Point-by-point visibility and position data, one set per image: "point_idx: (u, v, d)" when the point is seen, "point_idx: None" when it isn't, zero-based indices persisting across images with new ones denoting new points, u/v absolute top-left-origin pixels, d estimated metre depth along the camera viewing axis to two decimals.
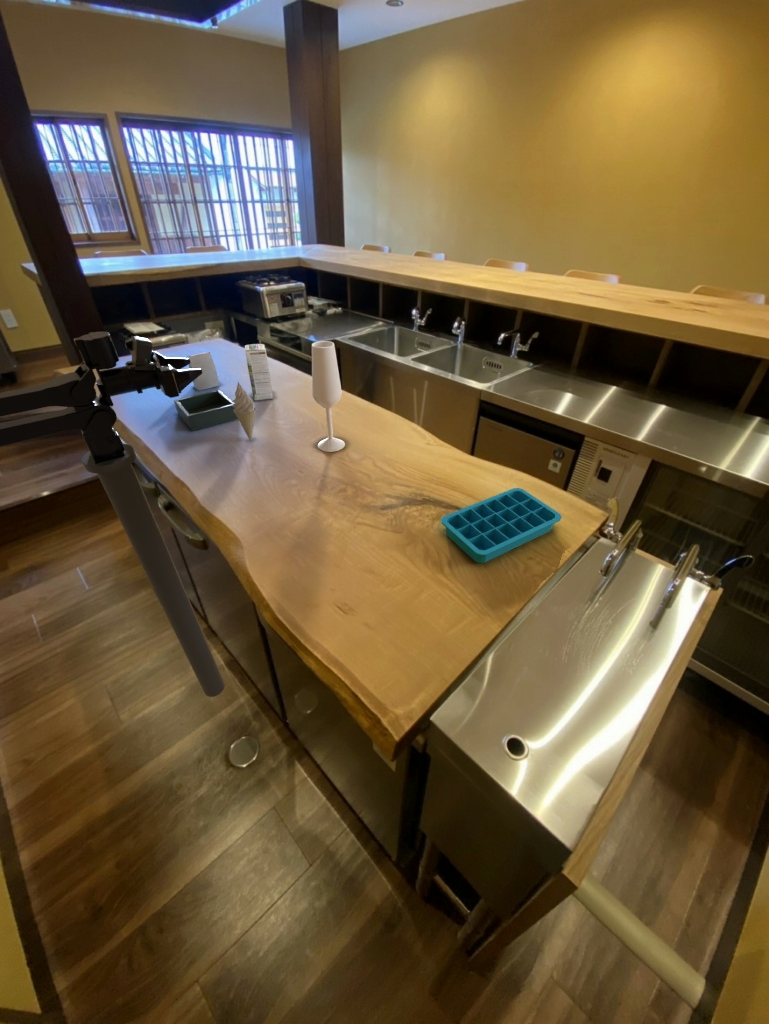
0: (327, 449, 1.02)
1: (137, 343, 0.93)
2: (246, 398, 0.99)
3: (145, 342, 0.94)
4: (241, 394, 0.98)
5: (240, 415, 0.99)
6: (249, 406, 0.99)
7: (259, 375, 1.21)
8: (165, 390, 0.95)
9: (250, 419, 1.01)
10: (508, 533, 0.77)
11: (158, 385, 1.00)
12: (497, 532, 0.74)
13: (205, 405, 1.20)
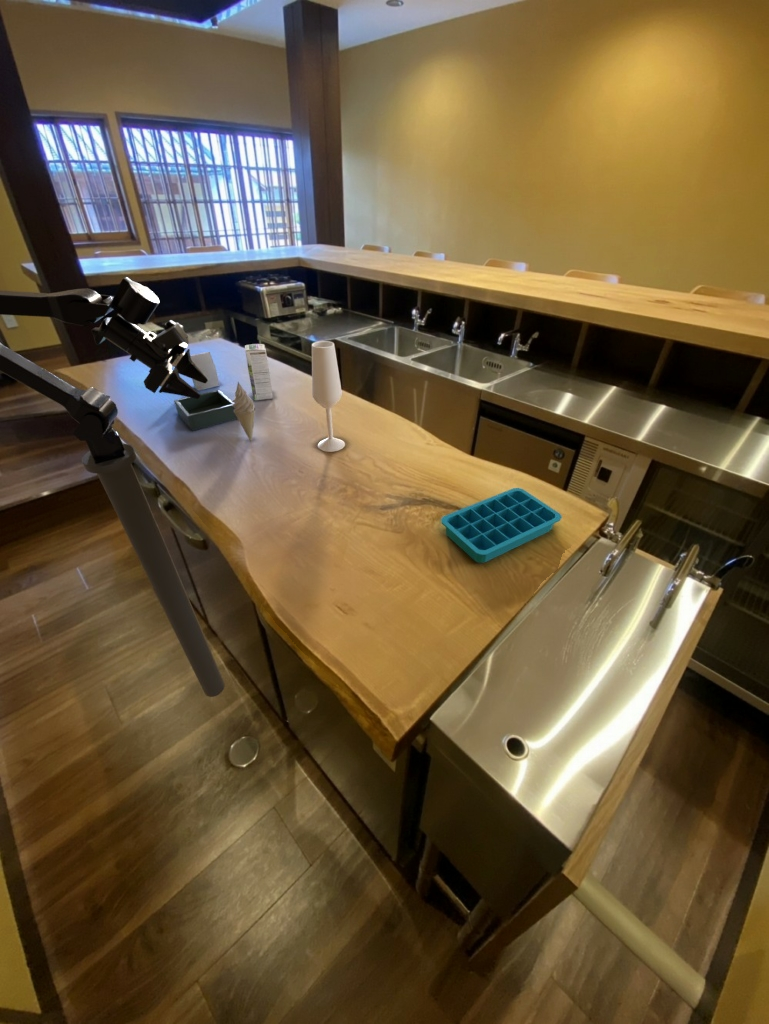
0: (327, 449, 1.02)
1: (171, 330, 0.86)
2: (246, 398, 0.99)
3: (179, 336, 0.87)
4: (241, 394, 0.98)
5: (240, 415, 0.99)
6: (249, 406, 0.99)
7: (259, 375, 1.21)
8: (147, 378, 0.85)
9: (250, 419, 1.01)
10: (508, 533, 0.77)
11: None
12: (497, 532, 0.74)
13: (205, 405, 1.20)
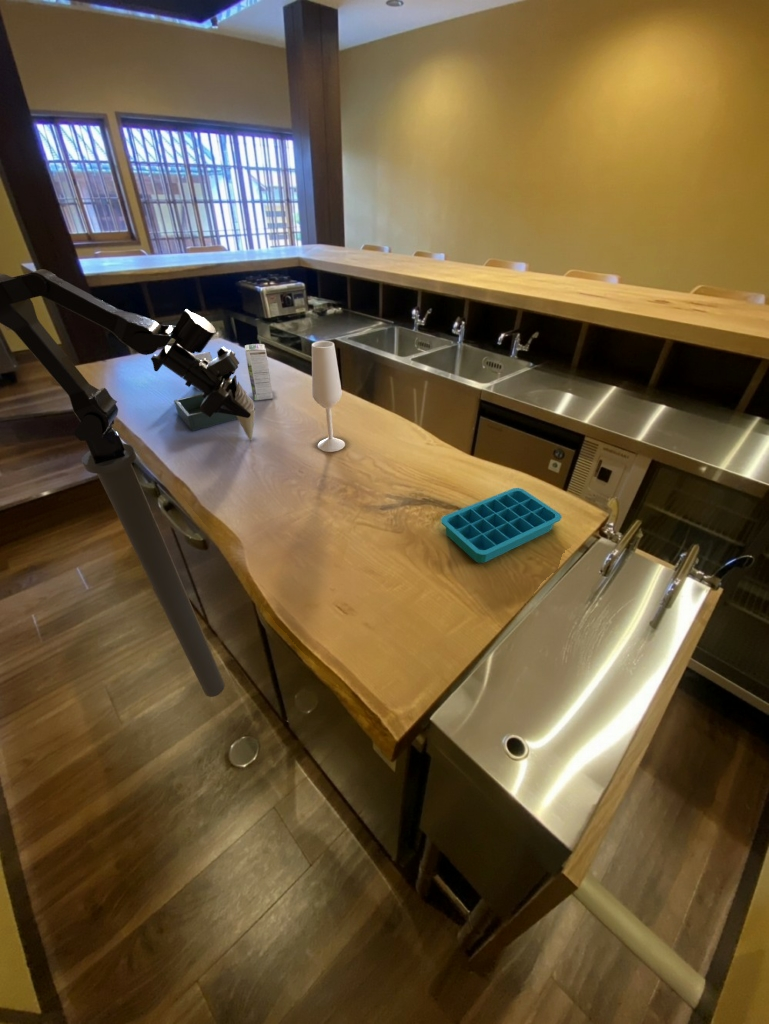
0: (327, 449, 1.02)
1: (226, 358, 0.91)
2: (246, 398, 0.99)
3: (232, 363, 0.92)
4: (241, 394, 0.98)
5: None
6: (249, 406, 0.99)
7: (259, 375, 1.21)
8: (203, 404, 0.90)
9: (250, 419, 1.01)
10: (508, 533, 0.77)
11: (206, 395, 0.95)
12: (497, 532, 0.74)
13: None
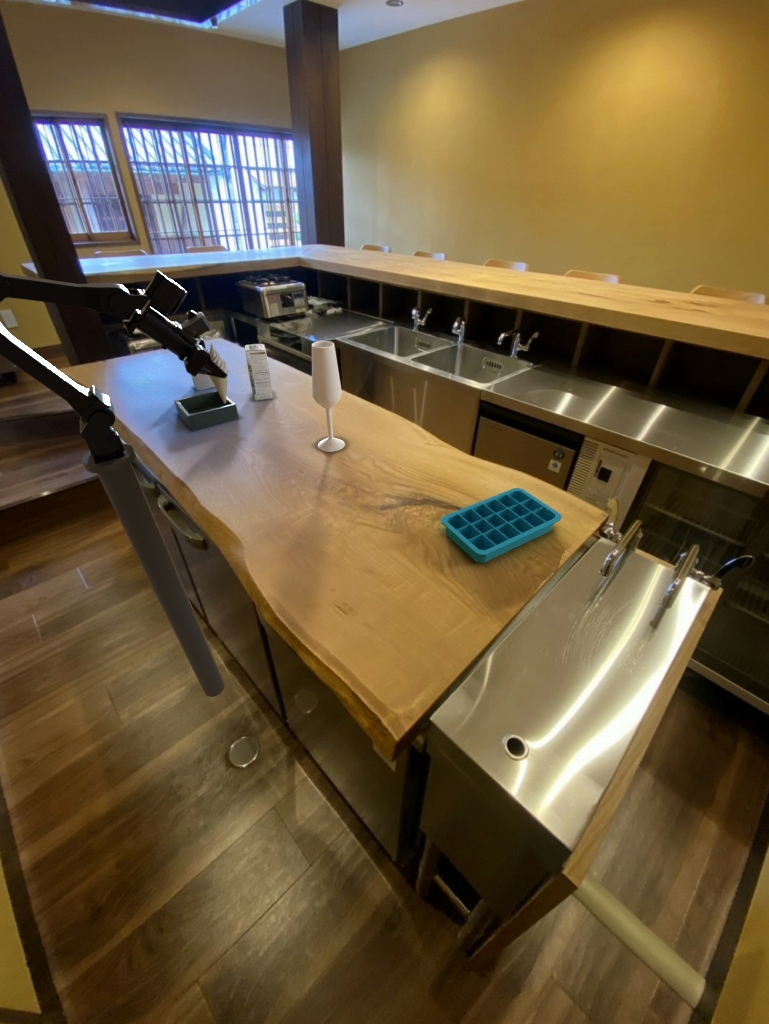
0: (327, 449, 1.02)
1: (201, 318, 0.95)
2: (220, 359, 1.03)
3: (208, 323, 0.96)
4: (215, 355, 1.02)
5: None
6: (224, 367, 1.03)
7: (259, 375, 1.21)
8: (189, 363, 0.92)
9: (225, 380, 1.05)
10: (508, 533, 0.77)
11: (183, 357, 0.97)
12: (497, 532, 0.74)
13: (205, 405, 1.20)
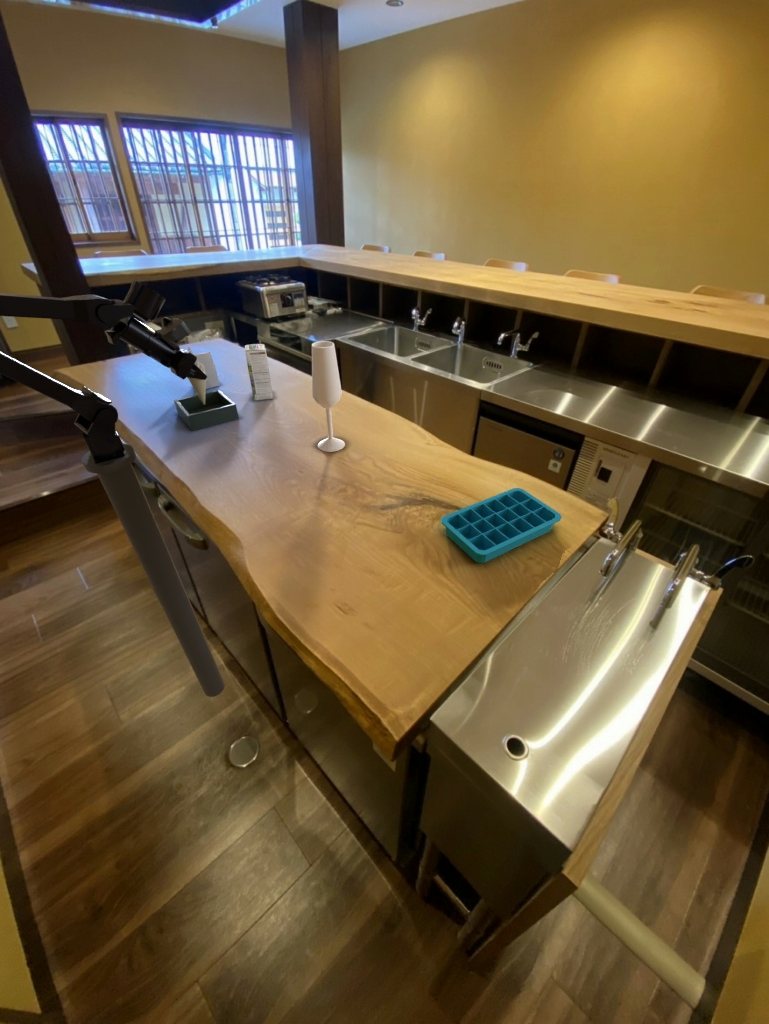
0: (327, 449, 1.02)
1: (181, 323, 1.00)
2: (198, 362, 1.08)
3: (187, 328, 1.01)
4: None
5: None
6: (202, 369, 1.09)
7: (259, 375, 1.21)
8: (179, 366, 0.97)
9: (205, 382, 1.10)
10: (508, 533, 0.77)
11: (165, 362, 1.01)
12: (497, 532, 0.74)
13: (205, 405, 1.20)
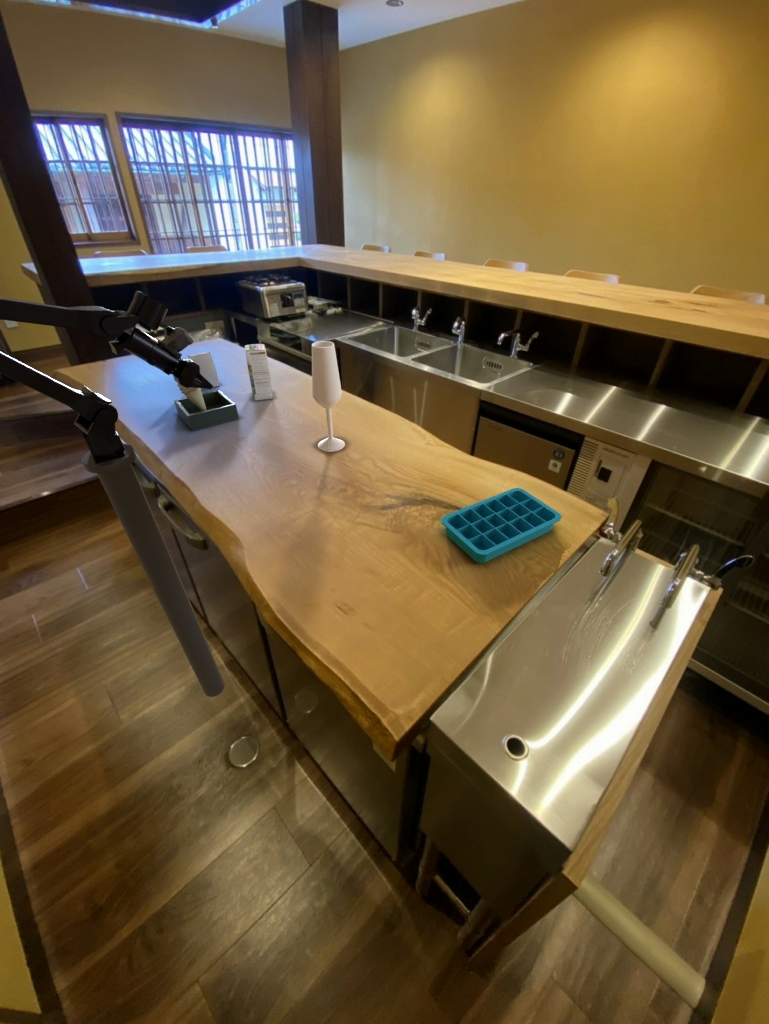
0: (327, 449, 1.02)
1: (184, 332, 1.01)
2: None
3: (189, 337, 1.02)
4: None
5: (191, 392, 1.09)
6: None
7: (259, 375, 1.21)
8: (182, 375, 0.99)
9: (200, 393, 1.11)
10: (508, 533, 0.77)
11: (169, 371, 1.03)
12: (497, 532, 0.74)
13: (205, 405, 1.20)
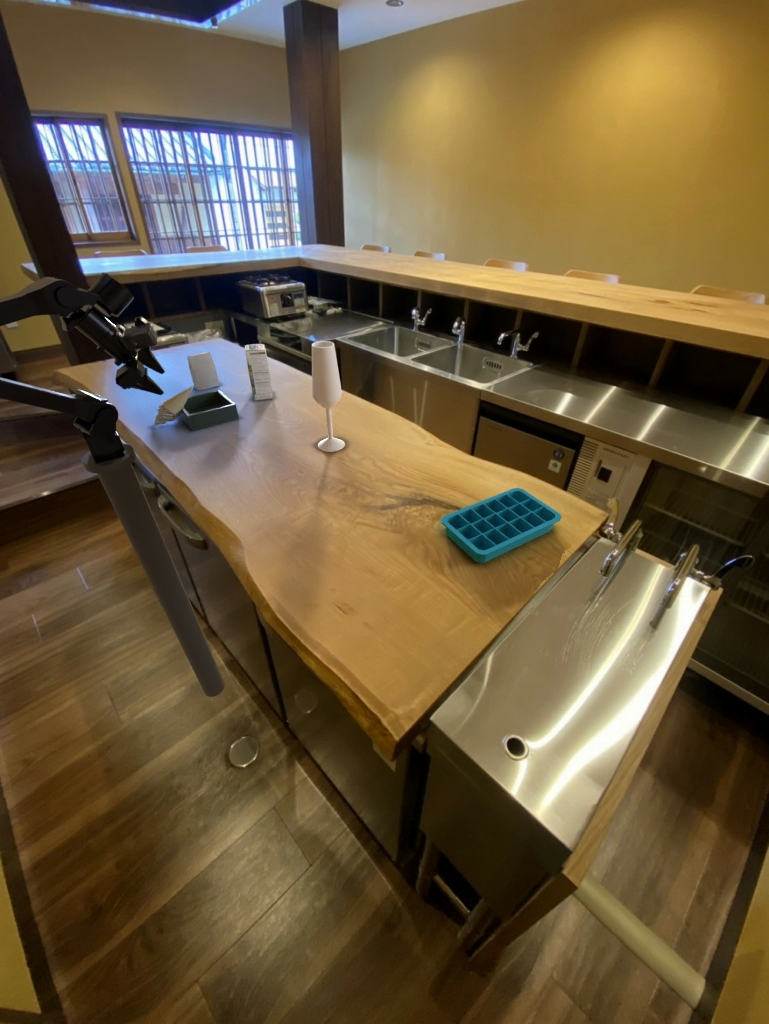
0: (327, 449, 1.02)
1: (146, 333, 0.93)
2: (159, 415, 1.10)
3: (152, 339, 0.94)
4: (159, 420, 1.10)
5: (174, 413, 1.09)
6: (162, 410, 1.09)
7: (259, 375, 1.21)
8: (120, 377, 0.91)
9: (172, 402, 1.09)
10: (508, 533, 0.77)
11: (119, 362, 0.95)
12: (497, 532, 0.74)
13: (205, 405, 1.20)
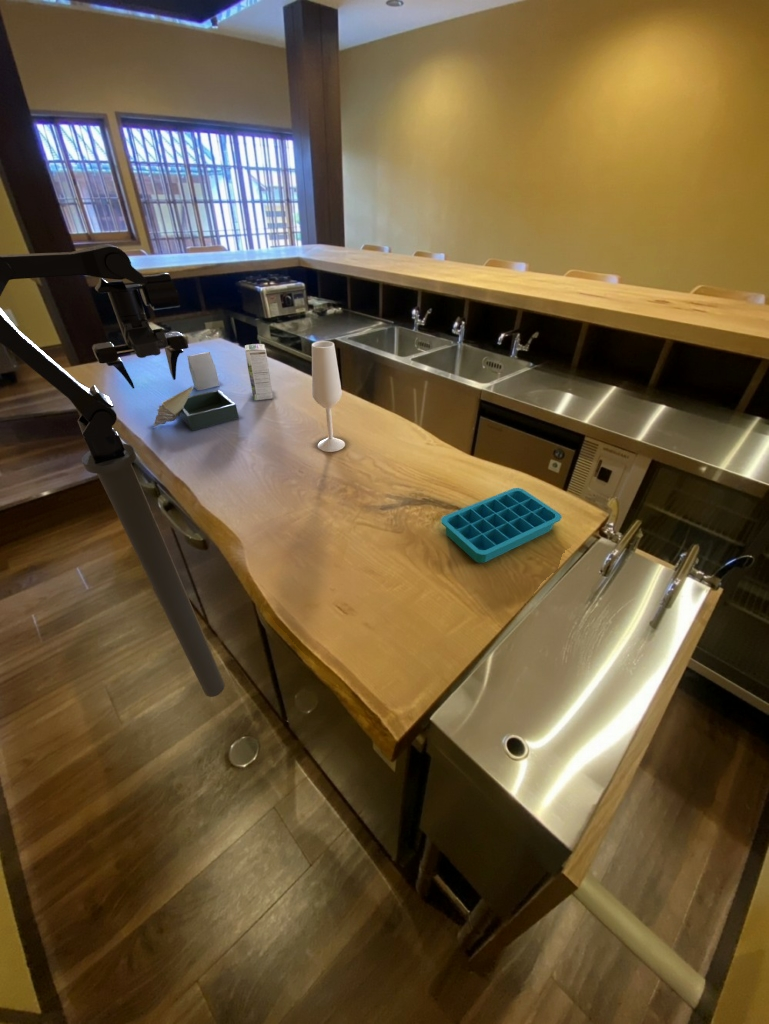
0: (327, 449, 1.02)
1: (134, 344, 0.88)
2: (159, 415, 1.10)
3: (138, 352, 0.89)
4: (159, 420, 1.10)
5: (174, 413, 1.09)
6: (162, 410, 1.09)
7: (259, 375, 1.21)
8: (93, 347, 0.91)
9: (172, 402, 1.09)
10: (508, 533, 0.77)
11: None
12: (497, 532, 0.74)
13: (205, 405, 1.20)
